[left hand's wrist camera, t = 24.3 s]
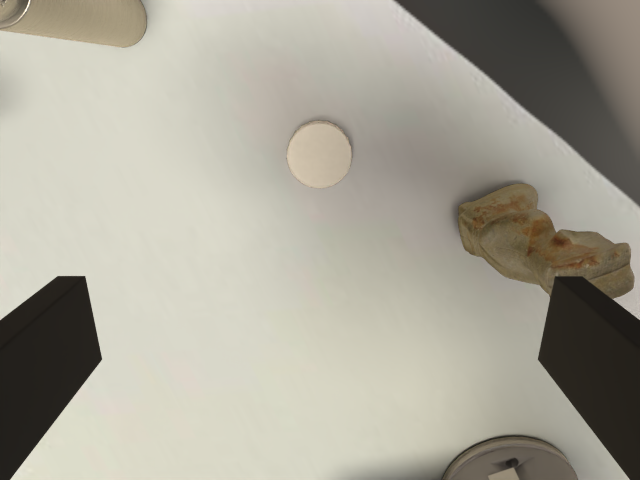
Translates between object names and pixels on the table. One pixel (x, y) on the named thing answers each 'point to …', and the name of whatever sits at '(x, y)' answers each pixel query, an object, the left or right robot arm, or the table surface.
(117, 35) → the silver metal cylinder
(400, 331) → the table surface
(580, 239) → the sculpture
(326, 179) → the lid
